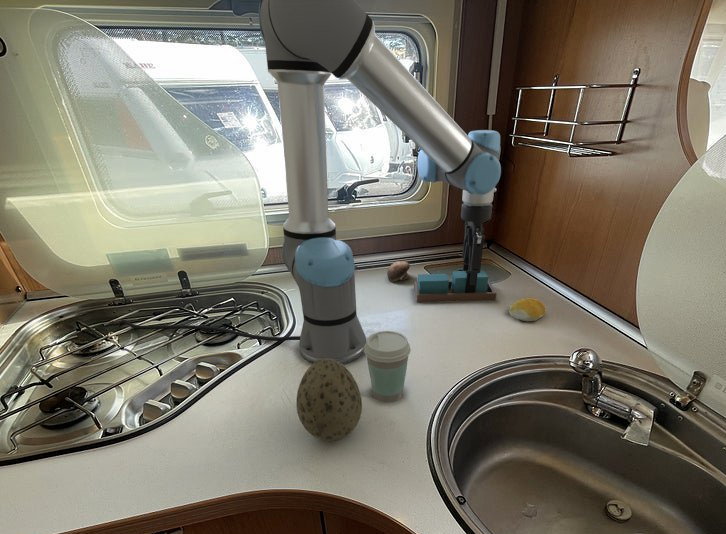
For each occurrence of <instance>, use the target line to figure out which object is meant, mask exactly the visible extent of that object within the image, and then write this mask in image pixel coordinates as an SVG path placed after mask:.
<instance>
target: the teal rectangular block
mask: <svg viewBox="0 0 726 534" xmlns="http://www.w3.org/2000/svg"><path fill="white" fill-rule="evenodd" d="M451 274H452V275H451V281H452V287H451V288H452V291H453V293H465V288H466V278H467V273H466V271H463V270H456V271H455V270H453V271H452V273H451ZM488 280H489V276H488V273H487V272H486V270H484V269H482V270H481V269H480V273H478V275H477V283H476V292H475V293H485V292H487V285H488Z"/></svg>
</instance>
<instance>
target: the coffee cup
mask: <svg viewBox="0 0 726 534" xmlns="http://www.w3.org/2000/svg"><path fill="white" fill-rule="evenodd" d="M363 354H364V355H365V357H366V363H367V367H368V374H369V378H370V385H371V391H372V395H373V398H374V399H375V400H377V401H379V402H382V403H395V402H397V401H399V400H401V398H402V397H403V394H404V387H405V380H406V374H407V368H408V362H409V355H410V354H411V344H410V343H409V340H408V338H407V337H406V336H405V335H404V334H403V333H401V332H398V331H393V330H381V331H376V332H374V333H372V334H370V335H369V336H368V337H367V338H366V344H365V346H364V353H363Z"/></svg>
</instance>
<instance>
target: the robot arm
mask: <svg viewBox="0 0 726 534" xmlns="http://www.w3.org/2000/svg"><path fill="white" fill-rule="evenodd" d="M258 5H259V7H258V24H259V25H258V26H259V29H260V33H261V36H262V39H263V42H264V46H265V47H264V48H265V56H266V65H267V72H268V73H269V75H270V76H271V77H272V78H273V79H274V81H275V82H276V84H277V93H278V94H277V95H278V104H279V116H280V127H281V139H282V150H283V163H284V173H285V184H286V196H287V207H288V218H287V219H286V220H285V222H284V223H283V224H282V229H283V230H282V231H283V243H282V260H283V262H284V264H285V265H284V266H285V267H286V268H287V270H288V271H289V272H290V274H291V276H292V278H293V280H294V281H295V283H296V285H297V287H298V291H299V296H300V301H301V309H302V317H303V322H302V327H301V332H300V335H291V336H290V335H287V336H266V335H258V334H252V333H248V332H247V333H246V332H242V331H237V330H233V329H229V328H225V327H217V326H211V325H210V326H209V325H195V324H160V325H155V324H154V325H140V324H134V323H132V322H130V321H128V320H127V319H121V320H119V321H118V324H117V325H118V326H122V325H127V326H128V327H130V328H133V329H135V330H201V331H202V330H204V331H213V332H220V333H226V334H230V335H234V336H238V337H241V338H248V339H254V340H260V341H268V342H287V341H299V342H298V347H299V353H300V355H301V356H302V357H303V358H304V360H306V361H308V362H310V363H312V364H314V363H315V362H316V361H318V360H321V359H325V358H329V359H333V360H336V361H338V362H339V363H341V364H342V365H344V364H347V363H350V362H352V361H355V360H356V359H358V358H360V357H361V356H362V355H364V354H365V353H364V346H365V344H366V341H367V337H366V334H365V331H364V329H363V326H362V324H361V323H360V320H359V317H358V314H357V313H358V312H357V297H356V296H357V294H356V276H355V268H356V264H355V259H354V254H353V251H352V249H351V247H350V246H349V245H348V244H347V243H346V242H344V241H343V240H341V239H337V229H336V228H337V227H336V223H335V222H334V221H333V220H332V219H331V218H330V217H329V216H330V215H329V194H328V193H329V192H328V191H329V190H328V165H327V137H326V136H327V135H326V134H327V133H326V111H325V110H326V109H325V85H326V83H327V81H329V79H330V78H331V76H334V77H335V78H336V79H337V80H348V82H350V83H351V84H352V85H353V86H354V87H355V88H356V89H357V90H358V91H359V92H360V93H361V94H362V95H363V96H364V97H365V98H366V99H368V100H369V101H370V103H372V104H373V105H374V106H375V107H376V108H377V109H378V110H379V111H380V112H381V113H382V114H383V115H384V116H386V117H387V119H389V120H390V121H391V123H393V124H394V125H395V126H396V127H397V128H398V129H399V130H400V131H401V132H402V133H403V134H404V135H405V136H406V137H407V138H408V139H410V141H412V142H413V143H414V144H415V145H416V146H417V147H418V148H419V149H420V150H419V152H418V155H417V165H416V167H417V172H418V173H417V174H418V176H419V178H420V180H421V181H422V182H424V183H437V182H443V183H446V184H448V185H450V186H452V187H456V188H458V189H461V190H462V196H461V197H462V199H461V200H462V202H463V203H462V204H461V210H460V211H461V212H460V218H461V220H463V221H465V222H464V233H463V234H464V236H463V246H462V255H461V258H462V262H463V265H462V271H466V273H467V278H466V288H465V293H475V292H476V283H477V275H478V273H480V270H481V269H482V260H483V251H484V243H485V238H486V236H485V235H484V232H485V229H484V227H483V223H485V222H489V221H490V220H491V219H492V212H493V204H492V202H493V201H494V196H495V195H494V193H496V192H497V188H496V186H497V185H498V183H499V181H500V179H501V175H502V166H501V163H500V161H499V159H500V154H501V151H500V150H501V134H500V133H499V131H497V130H492V129H491V130H490V129H489V130H488V129H478V130H477V129H476V130H471V131H469V132H468V134H467V133H466V132H465V131H464V130H463V128H461V127H460V126H459V124H458V123H457V122H456V121H455V120H454V119H453V117H451V115H449V114H448V113H447V111H446V110H445V109H444V108H443V107H442V106H441V104H439V103H438V101H437V100H436V99H435V98H434V97H433V96H432V95H431V94H430V93H429V92H428V90H427V89H426V88H425V87H424V85H422V84H421V82H419V80H418V79H417V78H416V77H415V76H414V75H413V74H412V73H411V72H410V70H409V69H408V68H407V67H406V66H405V65H404V64H403V63H402V62H401V60H399V58H397V56H396V55H395V54H394V53H393V52H392V51H391V50H390V48H389V47H388V46H387V45H386V44H385V43H384V42H383V40H381V38H379V37H378V36H377V35H376V29H375V21H374V20H373V19H372V18H371V17H370V16H369V14H368V13H367V12H366V11H365V10H364V9H363V8H362V7H361V5H360V4H359V3H358V2H357V1H356V0H260V1H259V4H258Z"/></svg>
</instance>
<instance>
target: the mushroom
mask: <svg viewBox="0 0 726 534" xmlns="http://www.w3.org/2000/svg"><path fill="white" fill-rule="evenodd" d="M410 268H411V265H410V263H408V262H407V261H400V260H398V261H396V262H392V264H390V266H389V267H388V269H387V272H386V275H387V279H388V281H389V282H391V283H394V282H397V281H405V280H406V279H409V278H410V277H411V274H409V273H408V271H409V269H410Z"/></svg>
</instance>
